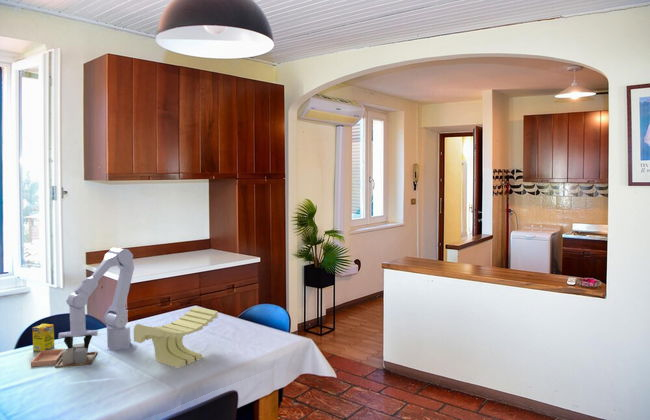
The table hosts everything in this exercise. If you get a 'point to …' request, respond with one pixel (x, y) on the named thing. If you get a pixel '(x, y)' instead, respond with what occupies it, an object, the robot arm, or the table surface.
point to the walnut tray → (89, 361)
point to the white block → (67, 356)
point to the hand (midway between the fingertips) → (79, 353)
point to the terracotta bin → (47, 358)
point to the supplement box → (43, 337)
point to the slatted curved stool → (175, 336)
